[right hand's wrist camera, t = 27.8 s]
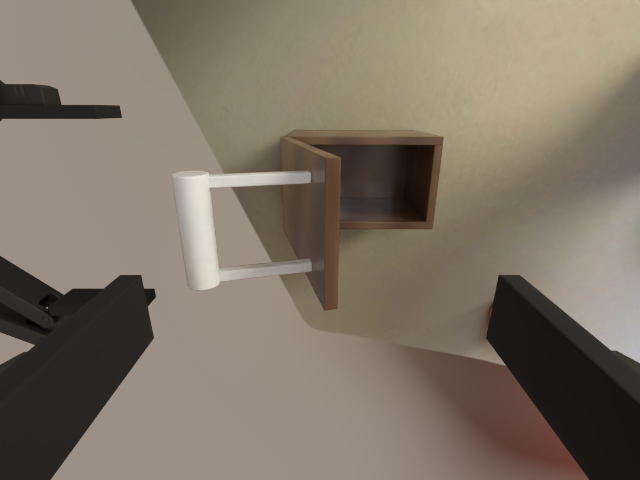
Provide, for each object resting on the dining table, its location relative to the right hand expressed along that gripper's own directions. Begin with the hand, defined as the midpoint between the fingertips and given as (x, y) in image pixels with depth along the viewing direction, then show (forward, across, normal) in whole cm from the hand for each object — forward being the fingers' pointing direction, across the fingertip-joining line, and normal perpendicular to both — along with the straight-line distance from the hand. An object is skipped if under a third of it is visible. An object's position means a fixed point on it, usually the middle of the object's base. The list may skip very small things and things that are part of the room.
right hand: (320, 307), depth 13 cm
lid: (+15, -1, 0) cm, 15 cm away
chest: (+33, +4, 0) cm, 34 cm away
